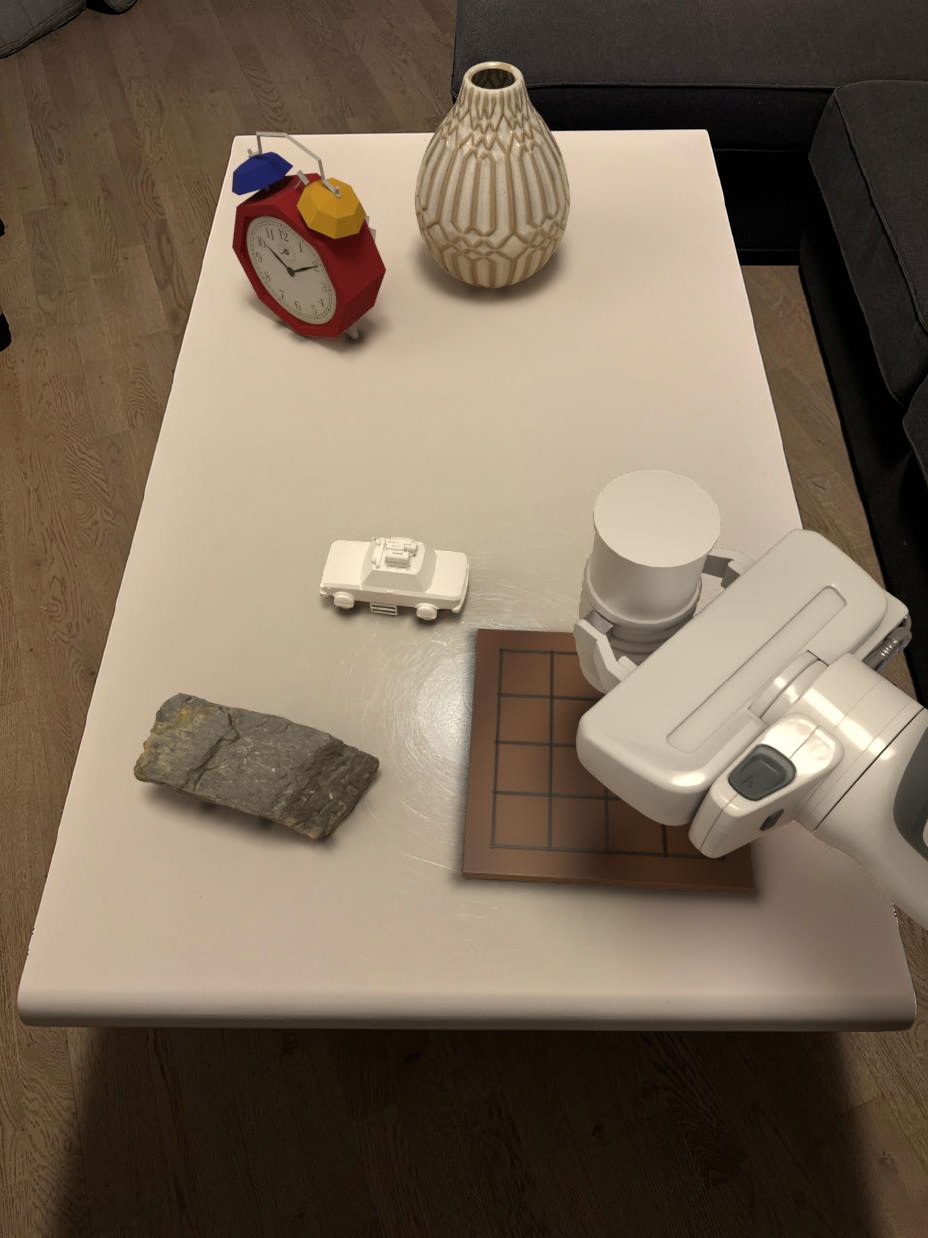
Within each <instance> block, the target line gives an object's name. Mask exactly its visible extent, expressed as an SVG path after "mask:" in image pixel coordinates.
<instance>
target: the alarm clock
mask: <svg viewBox="0 0 928 1238" xmlns="http://www.w3.org/2000/svg"><path fill="white" fill-rule="evenodd" d="M255 136H256V143H257V149H258V150H257V151H255V152H253V151H252V148H248V149H247V150H246V151H247V153H248V156H247V159H245V160H244V161H243V162H242V163H241V164H239V165H238V166H237V168H235V169H234V171H233V172H232V183H231V193H233V194H235V195H237V196H243V195H246V194H247V195H248V194H250V193H253V192H255V193H253V194H252V195H251V196H249V197H248V198H247V199H245V200H243V201H242V202H241V203H239V204H238V205H237V206H236V208H235V217H234V227H233V236H232V237H233V238H232V245H231V249H232V250H233V252H234V254H235V256H236V258H237V260H238V262H239V264H240V266H241V267H242V270H243V271H244V273H245V276H246V277H247V280H248V282H249V283H250V285H251V288H252V289H253V292H254V293H255V295H256V297H257V299H258V301H260V302H261V303H262V304H263V305H265V306H266V307H267V308H268V309H269V310H270V311H271V312H272V313H274V315H276V316H277V317H278V318H280V319H281V321H283V322H284V323H285V324H286V325H287V326H289V328H291V329H292V330H293V331H294V332H296V333H297V334H298V335H299V336H300V337H312V338H326V339H338V338H339V337H341V335H342V334H344V333H345V332H346V333H347V334H348V335H349V336H350V337H351V338H352V339H353V340H354V339H358V337H359V333H358V330H357V328H356V324H355V323H356V322H358V321H359V320H360V319H361V318H362V317H363V316H365V315H366V314H368V312H369V311H370V310H372V309H373V308H374V307H375V304H376V301H377V298H378V295H379V293H380V290H381V287H382V283H383V281H384V278H385V275H386V271H387V268H386V266H385V263H384V261H383V259H382V256H381V254H380V250H379V249H378V246H377V244H376V236H377V229H374V228H372V227H370V225H369V224H370V216H369V215H367V212H366V210H365V208H364V207H363V205H362V203H361V201H360V199H359V197H358V196H357V194H356V193H355V191H354V189H353V187H352V185H351V184H348V183H347V182H343V181H342V180H339V179H337V178H335V177H329V178H326V176H325V171H324V166H323V161H322V159H321V158H320V157H319V156H318V155H317V154H315V153H314V152H312V151H311V150H310V149H309V148H307V147H306V146H304V145H303V144H302V143H300V142H299V141H298V140H297V139H295V138H294V137H293V136H291V135H290V134H288V133H287V132H276V131H275V132H274V131H255ZM261 137H263V138H281V139H282V138H283V139H284V138H285V139H287V140H289V141H290V142H291V143H293V145H295V146H297V147H298V148H299V149H300V150H302V151H303V152H305V153H306V154H307V155H309V156H310V157H311V158H313V159H314V160H315V161H317V164H318V169H319V173H320V174H319V173H318V172H310V173H304V172H303V171H302V170H301V169H299V170H298V171H297V172H296V174H288V173H289V172H290V171H291V170H292V169H293V168H294V165H293V164H292V163H290V162H289V161H288V160H287V159H285V158H284V157H282V156H281V155H280V154H278V153H277V152H274V151H268V152H263V147H262V140H261ZM287 174H288V175H287Z"/></svg>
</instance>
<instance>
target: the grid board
mask: <svg viewBox="0 0 928 1238" xmlns="http://www.w3.org/2000/svg"><path fill="white" fill-rule="evenodd" d="M476 632H477V634H476V648H475V649H476V650H475V664H474V680H473V695H472V696H473V697H472V712H471V713H472V714H471V728H470V729H471V730H470V743H469V757H468V775H467V790H466V792H467V793H466V807H465V808H466V809H465V821H464V822H465V823H464V838H463V840H464V841H463V856H462V871H461V872H462V873H461V874H462V878H464V879H482V880H499V881H501V880H502V881H515V882H535V883H553V884H554V883H555V884H570V885H571V884H573V885H587V886H588V885H589V886H607V887H626V888H628V887H629V888H645V889H661V890H662V889H663V890H678V891H679V890H680V891H698V892H699V891H700V892H717V893H718V892H719V893H734V894H735V893H737V894H752V893H753V892H754V890H755V889H756V883H755V873H754V865H753V855H752V847H751V842H749V843H747V844H745V845H743V846H741V847H739V848H737V849H735V850H733V851H731V852H729V853H727V854H725V855H723V856H721V857H717V858H710V857H707V856H706V855H704V854H703V853H701V852H700V851H699V850H698V849H697V848H696V847H695V846H694V845H693V844H692V842H691V841H690V839H689V830H690V827H691V824H692V822H693V821H691V822H689V823H687V824H684V825H679V826H670V825H665V824H661V823H659V822H656V821H654V820H652V819H650V818H648V817H647V816H645V815H644V814H642V813H641V812H639V811H638V810H636V809H635V808H633V807H632V806H631V805H629V804H628V803H626V802H625V801H624V800H622V799H621V798H620V797H618V796H617V795H616V794H615V793H613V792H612V791H611V790H610V789H608V788H607V787H606V786H605V785H603V784H602V783H601V782H600V781H599V780H598V779H596V778H595V777H594V776H593V775H592V774H591V773H590V772H589V771H588V770H587V769H586V768H585V767H584V766H583V765H582V764H581V762H580V761H579V758H578V754H577V749H576V736H577V730H578V726H579V722H580V719H581V718H582V716H583V715H584V714H585V713H586V712H587V711H588V710H590V709H591V708H592V707H593V706H594V705H595V704H596V703H597V702H599V701H600V700H601V699H602V698H603V697H604V696H605V695H606V694H604V693H602V692H600V691H598V690H597V689H596V688H595V687H593V686H592V685H591V684H590V683H589V682H588V680H587V679H586V677H585V676H584V675H583V672H582V669H581V666H580V659H579V656H578V653H577V650H576V639H575V638H574V636H573V632H569V631H568V632H566V631H542V630H541V631H540V630H519V629H497V628H493V629H492V628H477V631H476Z"/></svg>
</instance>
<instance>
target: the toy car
mask: <svg viewBox="0 0 928 1238" xmlns="http://www.w3.org/2000/svg"><path fill="white" fill-rule="evenodd" d="M330 546H331V547H330V549H329V552H328V555H327V558H326V561H325V565H324V568H323V573H322V577H321V581H320V584H319V595H320V597H323V598H326V597H329V596H331V597H333V598H334V599H333V604H334V605H335V606H336V607H338V608H339V607H340V608H342V609H344V610H349V609H350V608H351V609H353V607H354V605H355V601H359V602H366V603H367V602H368V603H369V605H370V606H369V607H370V612H371V613H377V614H386V615H393V616H398V608H397V606H400V607H401V606H402V607H410V608H414V609H416V616H417V617H418V618H419V619H421V618H422V619H423V620H425V621H432V620H433V621H434V620H435V619H436V618H437V614H438V611H439V610H440V609H444V610H451V612H452V613H456V614H459V613H460V612H461V610H462V608H463V605H464V603H465V599H466V595H467V592H468V588H469V587H468V586H469V581H470V580H469V579H470V565H469V559H468V556H467V555H466V554H465V552H459V551H451V550H441V549H434V548H432V547H431V546H429V545H428V544H426V543H424V542H423V541H422V542H421V541H416V540H415V539H414V538H412V537H403V536H401V537H400V536H395V535H393V536H390V537H389V538H388V537H379V538H377V536H376V535H374V536H372V538H371V542H370V541H358V540H357V541H356V540H347V539H346V540H344V539H336V540H335V541H334V542H332V543H331V545H330ZM372 605H373V606H372ZM376 606H377V607H376ZM378 606H381V607H378ZM384 607H386V608H384ZM387 607H390V608H387ZM393 608H394V609H393ZM377 610H381V611H377ZM385 611H388V612H385ZM389 611H390V612H389ZM394 612H395V613H394Z"/></svg>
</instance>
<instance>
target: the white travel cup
mask: <svg viewBox="0 0 928 1238" xmlns="http://www.w3.org/2000/svg"><path fill="white" fill-rule="evenodd" d="M594 504H595V505H594V507H593V512H592V517H593V529H594V531H595V532H594V538H593V545H592V546H593V547H592V552H591V553H590V555H589V556H588V558H587V559H586V563H585V566H584V570H583V578H582V582H581V591H580V596H579V598H580V599H579V600H580V601H579V603H578V619H579V620H580V619H581V618H583V617H584V616H585V615H586V614H587V613H589V612H590V611H591V610H596V611H597V612H599V613H600V615H601V618H606V619H607V620H608V621H610V622H611V623H612V624H613V625H614V630H613V633H612V634H611V635H612V639H611V642H610V643H609V644H610V646H611V649H612V651H613V654H614V656H615V659H616V661H617V662H618V660H619V659H620V658H621V657H622V656H626V657H627V658H628V659H630V660H631V661H632V662H633V663H635V664H636V665H637V666H639V665H640V664H641V663H642V662H644V661H645V660H646V659H647V658H648V657H649V656H650V655H651V654H653V653H654V652H655V651H656V650H657V649H658V648H659V647H660V646H662V645H663V644H664V643H665V642H666V641H667V640H668V639H669V638H670V637H672V636H673V635H674V634H675V633H676V632H677V631H678V630H679V629H681V628H682V627H683V626H684V625H685V624H686V623H687V622H688V621H690V620H691V619H692V618H693V617H694V616H695V613H696V611H697V607H698V603H699V601H700V598H701V593H702V589H703V581H702V574H703V573H702V570H703V567H704V564H705V561H706V558H707V555H708V554H709V553H710V552H711V550H712V549H713V547H715V545H716V544H717V542H718V539H719V536H720V531H721V527H722V520H721V512H720V509H719V507H718V506H717V504H716V501H715V499H714V498H713V496H711V494H710V493H708V491H707V490H706V488H704V487H703V486H701V485H700V484H699V483H698V482H696V481H695V480H693V479H691V478H689V477H688V476H687V477H686V476H684V475H681V474H679V473H677V472H673V471H668V470H663V469H639V470H635V471H630V472H627V473H625V474H623V475H621V476H618V477H616V478H614V479H613V480H612V481H611V482H609V483H608V484H607V485H605V486H604V487H603V489H602V490H601V492H600V493H599V495H597V497H596V501H595V503H594ZM579 620H578V621H579ZM576 650H577V653H578V656H579V659H580V666H581V669H582V672H583V675H584V676H585V677H586V679H587V680H588V682H589V683H590V684H591V685H592V686H593V687H595V688H596V689H597V690H598V691H600V692H602V693H604V694H608V693H609V692H608V691H607V690H605V689H604V688H603V686H602V683H601V680H600V677H599V674H598V671H597V668H596V665H595V662H594V659H593V656H594V655H592V654H591V653H590V652H589V651H588V650H587V649H585V648H584V647H583V646H582V645H581V644H580V643H579V642H577V641H576Z"/></svg>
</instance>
